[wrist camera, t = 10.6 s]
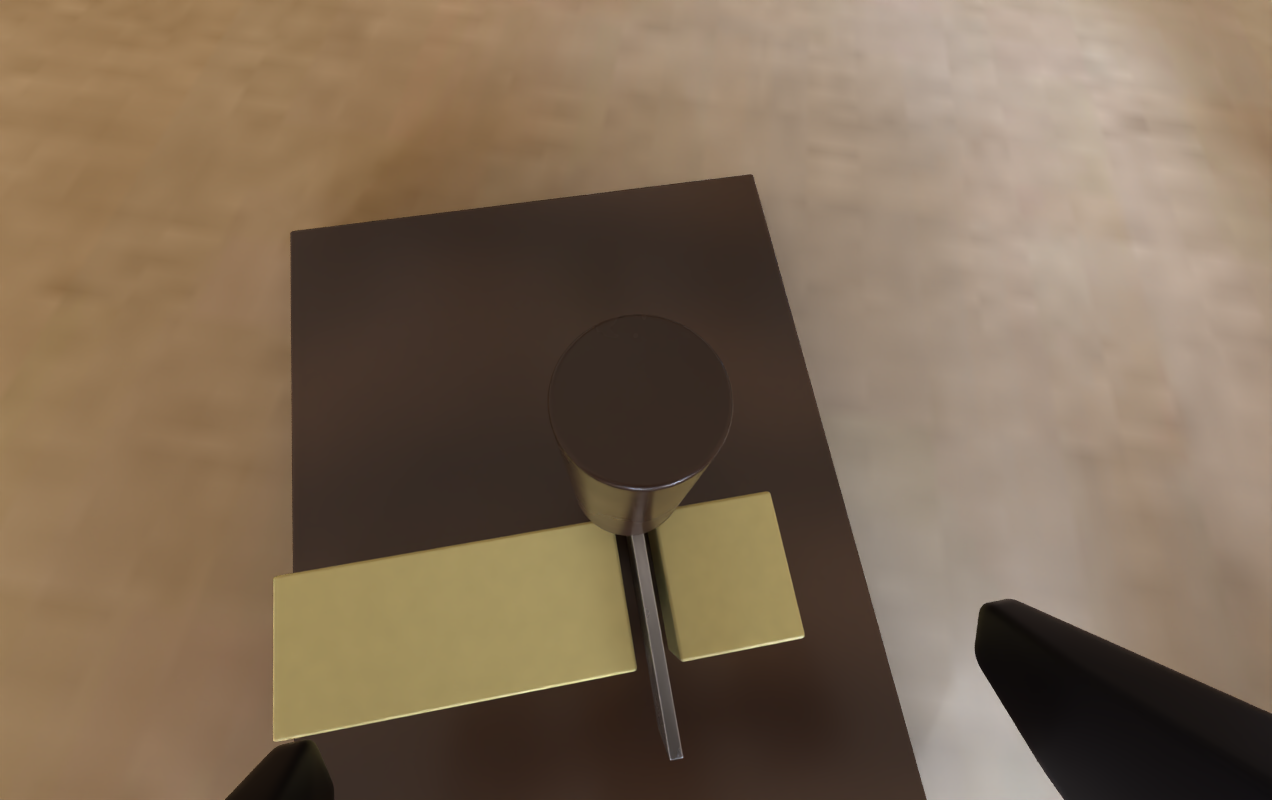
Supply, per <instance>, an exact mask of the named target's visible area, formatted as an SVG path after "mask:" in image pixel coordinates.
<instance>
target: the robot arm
mask: <svg viewBox="0 0 1272 800" xmlns="http://www.w3.org/2000/svg"><path fill="white" fill-rule="evenodd" d="M975 655H976V659H977V661H978V664H979V666H980V668H981V670H982V671H983V673H984V674H985V676H986V678H987V679H988V681H989V683H990V684H991V686H992V688H993V689H994V691H995V692H996V694H997V696H998V697H999V699H1000V701H1001V702H1002V704H1003V706H1004V707H1005V709H1006V710H1007V712H1008V714H1009V715H1010V717H1011V719H1012V720H1013V722H1014V723H1015V725H1016V727H1017V728H1018V730H1019V732H1020V733H1021V735H1022V737H1023V738H1024V740H1025V741H1026V743H1027V745H1028V746H1029V748H1030V750H1031V751H1032V753H1033V755H1034V756H1035V758H1036V759H1037V761H1038V762H1039V764H1040V765H1041V767H1042V769H1043V770H1044V772H1045V773H1046V775H1047V776H1048V778H1049V779H1050V780H1051V782H1052V783H1053V785H1054V786H1055V787H1056V789H1057V790H1058V792H1059V793H1060V795H1061V796H1062V797H1063V799H1064V800H1272V714H1271V713H1269V712H1267V711H1264V710H1262V709H1260V708H1258V707H1255V706H1253V705H1251V704H1249V703H1246V702H1244V701H1242V700H1240V699H1237V698H1235V697H1233V696H1231V695H1228V694H1226V693H1224V692H1222V691H1219V690H1217V689H1215V688H1213V687H1210V686H1208V685H1206V684H1204V683H1201V682H1199V681H1197V680H1195V679H1192V678H1190V677H1188V676H1186V675H1183V674H1181V673H1179V672H1177V671H1174V670H1172V669H1170V668H1168V667H1165V666H1163V665H1161V664H1159V663H1156V662H1154V661H1152V660H1150V659H1147V658H1145V657H1143V656H1141V655H1138V654H1136V653H1134V652H1132V651H1129V650H1127V649H1125V648H1123V647H1120V646H1118V645H1116V644H1114V643H1111V642H1109V641H1107V640H1105V639H1102V638H1100V637H1098V636H1096V635H1093V634H1091V633H1089V632H1087V631H1084V630H1082V629H1080V628H1078V627H1075V626H1073V625H1071V624H1069V623H1066V622H1064V621H1062V620H1060V619H1057V618H1055V617H1053V616H1051V615H1048V614H1046V613H1044V612H1042V611H1039V610H1037V609H1035V608H1033V607H1030V606H1028V605H1026V604H1024V603H1021V602H1019V601H1017V600H1013V599H1004V600H999V601H994V602H989V603H986V604H984V605H983V606H982V607H981V608H980V611H979V617H978V625H977V633H976V640H975ZM225 800H334V787H333V783H332V780H331V777H330V775H329V772H328V770H327V768H326V765H325V763H324V761H323V758H322V756H321V753H320V751H319V749H318V747H317V745H316V743H315V742H313V741H312V740H302V741H297V742H292V743H287V744H282V745H280V746H277V747H276V748H274V749H273V750H272V751H271V752H270V753H269V754H268V755H267V756H266V757H265V758H264V759H263V760H262V761H261V762H260V763H259V764H258V765H257V766H256V767H255V769H254V770H253V771H252V772H251V773H250V774H249V775H248V776H247V777H246V778H245V779H244V780H243V781H242V782H241V783H240V784H239V785H238V786H237V788H236V789H235V790H234V791H233V792H232V793H231V794H230V795H229V796H228V797H227V798H226V799H225Z"/></svg>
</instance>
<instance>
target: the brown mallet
mask: <svg viewBox="0 0 1272 800" xmlns="http://www.w3.org/2000/svg"><path fill="white" fill-rule="evenodd" d="M547 403H548V415H549V420H550V424H551V428H552V430H553V433H554V436H555V439H556V442H557V445H558V448H559V450H560V453H561V456H562V459H563V462H564V465H565V467H566V470H567V473H568V476H569V479H570V482H571V485H572V487H573V490H574V493H575V496H576V499H577V501H578V504H579V506H580V508H581V510H582V511H583V512H584V514H585V515H586V516H587V517H588V519H589V520H590V521H591V522H593V523H594V524H595V525H596V526H598V527H600V528H601V529H603V530H605V531H607V532H610V533H613V534H617V535H623V536H626V540H627V546H628V551H629V557H630V563H631V569H632V575H633V581H634V587H635V593H636V599H637V605H638V611H639V617H640V623H641V629H642V635H643V641H644V647H645V653H646V658H647V664H648V670H649V676H650V682H651V688H652V694H653V700H654V706H655V712H656V718H657V724H658V729H659V732H660V734H661V737H662V740H663V743H664V746H665V748H666V751H667V754H668V757H669V759H670V760H671V761H672V760H677V759H682V758H683V752H682V746H681V741H680V735H679V729H678V724H677V718H676V712H675V707H674V701H673V695H672V690H671V684H670V678H669V673H668V667H667V662H666V656H665V650H664V645H663V639H662V633H661V628H660V622H659V616H658V611H657V605H656V599H655V594H654V588H653V582H652V577H651V571H650V566H649V560H648V554H647V549H646V543H645V537H644V533H647V532H649V531H652V530H654V529H655V528H657V527H659V526H660V525H661V524H663V523H664V522H665V521H666V520H667V519H668V518H669V517H670V516H671V514H672V513H673V512H674V511H675V509H676V508H677V507H678V505H679V504H680V503H681V501H682V500H683V499H684V497H685V496H686V495H687V493H688V492H689V491H690V489H691V488H692V487H693V486H694V484H695V483H696V482H697V480H698V479H699V478H700V476H701V475H702V474H703V472H704V471H705V470H706V468H707V467H708V466H709V464H710V463H711V462H712V460H713V459H714V458H715V457H716V455H717V454H718V453H719V451H720V449H721V448H722V446H723V444H724V442H725V440H726V438H727V435H728V433H729V430H730V426H731V422H732V417H733V393H732V386H731V383H730V379H729V376H728V373H727V371H726V369H725V367H724V364H723V363H722V361H721V359H720V358H719V356H718V355H717V353H716V352H715V351H714V350H713V348H712V347H711V346H710V345H709V344H708V343H707V342H706V341H705V340H704V339H703V338H702V337H701V336H700V335H698V334H697V333H696V332H694V331H693V330H691V329H690V328H688V327H686V326H684V325H683V324H681V323H678V322H676V321H673V320H671V319H667V318H664V317H660V316H654V315H646V314H633V315H624V316H619V317H614V318H611V319H608V320H605V321H603V322H601V323H598V324H596V325H594V326H592V327H591V328H589V329H588V330H586V331H585V332H583V333H582V334H581V335H579V336H578V337H577V338H576V339H575V340H574V341H573V342H572V343H571V344H570V345H569V346H568V347H567V348H566V350H565V351H564V352H563V354H562V355H561V357H560V358H559V360H558V362H557V364H556V366H555V368H554V371H553V373H552V376H551V379H550V384H549V389H548V400H547Z"/></svg>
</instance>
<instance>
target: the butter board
mask: <svg viewBox="0 0 1272 800" xmlns="http://www.w3.org/2000/svg"><path fill="white" fill-rule="evenodd" d="M290 235H291V372H292V508H293V573H297V572H302V571H308V570H314V569H320V568H325V567H331V566H337V565H343V564H349V563H354V562H360V561H366V560H372V559H377V558H383V557H389V556H395V555H400V554H406V553H412V552H418V551H423V550H429V549H435V548H441V547H446V546H452V545H458V544H464V543H469V542H475V541H481V540H487V539H493V538H498V537H504V536H510V535H516V534H521V533H527V532H533V531H539V530H544V529H550V528H556V527H562V526H567V525H573V524H579V523H585V522H590V520H589V519H588V517H587V516H586V515H585V514H584V512H583V511H582V510H581V508H580V506H579V504H578V501H577V499H576V496H575V493H574V490H573V487H572V485H571V482H570V479H569V476H568V473H567V470H566V467H565V465H564V462H563V459H562V456H561V453H560V450H559V448H558V445H557V442H556V439H555V436H554V433H553V430H552V428H551V424H550V420H549V415H548V403H547V400H548V389H549V384H550V379H551V376H552V373H553V371H554V368H555V366H556V364H557V362H558V360H559V358H560V357H561V355H562V354H563V352H564V351H565V350H566V348H567V347H568V346H569V345H570V344H571V343H572V342H573V341H574V340H575V339H576V338H577V337H578V336H579V335H581V334H582V333H583V332H585V331H586V330H588V329H589V328H591V327H592V326H594V325H596V324H598V323H601V322H603V321H605V320H608V319H611V318H614V317H619V316H624V315H633V314H646V315H654V316H660V317H664V318H667V319H671V320H673V321H676V322H678V323H681V324H683V325H684V326H686V327H688V328H690V329H691V330H693V331H694V332H696V333H697V334H698V335H700V336H701V337H702V338H703V339H704V340H705V341H706V342H707V343H708V344H709V345H710V346H711V347H712V348H713V350H714V351H715V352H716V353H717V355H718V356H719V358H720V359H721V361H722V363H723V364H724V367H725V369H726V371H727V373H728V376H729V379H730V383H731V386H732V393H733V417H732V422H731V426H730V430H729V433H728V435H727V438H726V440H725V442H724V444H723V446H722V448H721V449H720V451H719V453H718V454H717V455H716V457H715V458H714V459H713V460H712V462H711V463H710V464H709V466H708V467H707V468H706V470H705V471H704V472H703V474H702V475H701V476H700V478H699V479H698V480H697V482H696V483H695V484H694V486H693V487H692V488H691V489H690V491H689V492H688V493H687V495H686V496H685V497H684V499H683V500H682V501H681V503H680V504H679V505H678V507H679V506H685V505H690V504H696V503H702V502H708V501H713V500H719V499H725V498H731V497H736V496H742V495H748V494H754V493H759V492H765V491H767V492H770V494H771V498H772V502H773V506H774V510H775V514H776V518H777V522H778V526H779V530H780V535H781V539H782V543H783V547H784V551H785V555H786V559H787V563H788V568H789V572H790V576H791V580H792V584H793V588H794V592H795V596H796V600H797V605H798V609H799V613H800V617H801V621H802V625H803V629H804V633H805V634H804V637H803V638H802V639H797V640H792V641H787V642H782V643H777V644H771V645H766V646H761V647H756V648H751V649H746V650H741V651H736V652H731V653H726V654H721V655H716V656H711V657H706V658H701V659H696V660H691V661H685V662H683V661H681V660H680V659H678V658H677V657H676V656H675V655H674V654H673V653H672V652H671V651H670V650H669V648H668V643H667V637H666V632H665V626H664V621H663V615H662V610H661V604H660V598H659V593H658V587H657V582H656V576H655V570H654V565H653V559H652V554H651V548H650V542H649V537H648V532H647V533H644V537H645V543H646V549H647V554H648V560H649V566H650V571H651V577H652V582H653V588H654V594H655V599H656V605H657V611H658V616H659V622H660V628H661V633H662V639H663V645H664V650H665V656H666V662H667V667H668V673H669V678H670V684H671V690H672V695H673V701H674V707H675V712H676V718H677V724H678V729H679V735H680V741H681V746H682V752H683V758H682V759H677V760H672V761H671V760H670V759H669V757H668V754H667V751H666V748H665V746H664V743H663V740H662V737H661V734H660V732H659V729H658V724H657V718H656V712H655V706H654V700H653V694H652V688H651V682H650V676H649V670H648V664H647V658H646V653H645V647H644V641H643V635H642V629H641V623H640V617H639V611H638V605H637V599H636V593H635V587H634V581H633V575H632V569H631V563H630V557H629V551H628V546H627V540H626V536H623V535H617V534H615V536H616V542H617V548H618V554H619V560H620V566H621V572H622V579H623V585H624V591H625V597H626V603H627V609H628V615H629V621H630V628H631V634H632V640H633V646H634V652H635V658H636V664H637V669H636V670H635V671H633V672H628V673H623V674H618V675H613V676H608V677H603V678H598V679H593V680H588V681H583V682H578V683H573V684H568V685H563V686H557V687H552V688H547V689H542V690H537V691H532V692H527V693H522V694H517V695H512V696H507V697H502V698H497V699H492V700H487V701H482V702H477V703H471V704H466V705H461V706H456V707H451V708H446V709H441V710H436V711H431V712H426V713H421V714H416V715H411V716H406V717H401V718H396V719H390V720H385V721H380V722H375V723H370V724H365V725H360V726H355V727H350V728H345V729H340V730H335V731H330V732H325V733H320V734H315V735H309V736H304V737H299V738H294V742H297V741H302V740H312V741H313V742H315V743H316V745H317V747H318V749H319V751H320V753H321V756H322V758H323V761H324V763H325V765H326V768H327V770H328V772H329V775H330V777H331V780H332V783H333V787H334V800H927V799H926V796H925V792H924V789H923V785H922V781H921V778H920V774H919V771H918V767H917V763H916V760H915V756H914V753H913V749H912V745H911V742H910V738H909V735H908V731H907V727H906V724H905V720H904V717H903V713H902V709H901V706H900V702H899V699H898V695H897V691H896V688H895V684H894V681H893V677H892V673H891V670H890V666H889V663H888V659H887V656H886V652H885V648H884V645H883V641H882V638H881V634H880V630H879V627H878V623H877V620H876V616H875V612H874V609H873V605H872V602H871V598H870V594H869V591H868V587H867V584H866V580H865V576H864V573H863V569H862V566H861V562H860V558H859V555H858V551H857V548H856V544H855V540H854V537H853V533H852V530H851V526H850V522H849V519H848V515H847V512H846V508H845V504H844V501H843V497H842V494H841V490H840V486H839V483H838V479H837V476H836V472H835V468H834V465H833V461H832V458H831V454H830V451H829V447H828V443H827V440H826V436H825V433H824V429H823V425H822V422H821V418H820V415H819V411H818V407H817V404H816V400H815V397H814V393H813V389H812V386H811V382H810V379H809V375H808V371H807V368H806V364H805V361H804V357H803V353H802V350H801V346H800V343H799V339H798V335H797V332H796V328H795V325H794V321H793V317H792V314H791V310H790V307H789V303H788V299H787V296H786V292H785V289H784V285H783V281H782V278H781V274H780V271H779V267H778V263H777V260H776V256H775V253H774V249H773V245H772V242H771V238H770V235H769V231H768V228H767V224H766V220H765V217H764V213H763V210H762V206H761V202H760V199H759V195H758V192H757V188H756V184H755V181H754V177H753V175H751V174H750V175H742V176H734V177H726V178H718V179H710V180H702V181H693V182H685V183H677V184H669V185H661V186H653V187H645V188H637V189H629V190H621V191H613V192H605V193H597V194H589V195H581V196H573V197H564V198H556V199H548V200H540V201H532V202H524V203H516V204H508V205H500V206H492V207H484V208H476V209H468V210H460V211H452V212H444V213H435V214H427V215H419V216H411V217H403V218H395V219H387V220H379V221H371V222H363V223H355V224H347V225H339V226H331V227H323V228H315V229H306V230H298V231H292V232H291V233H290Z"/></svg>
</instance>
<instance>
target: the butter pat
mask: <svg viewBox="0 0 1272 800" xmlns="http://www.w3.org/2000/svg"><path fill="white" fill-rule="evenodd" d="M648 537H649V542H650V548H651V554H652V559H653V565H654V570H655V576H656V582H657V587H658V593H659V598H660V604H661V610H662V615H663V621H664V626H665V632H666V637H667V643H668V648H669V650H670V651H671V652H672V653H673V654H674V655H675V656H676V657H677V658H678V659H680V660H681V661H683V662H685V661H691V660H696V659H701V658H706V657H711V656H716V655H721V654H726V653H731V652H736V651H741V650H746V649H751V648H756V647H761V646H766V645H771V644H777V643H782V642H787V641H792V640H797V639H802V638H803V637H804V634H805V633H804V629H803V625H802V621H801V617H800V613H799V609H798V605H797V600H796V596H795V592H794V588H793V584H792V580H791V576H790V572H789V568H788V563H787V559H786V555H785V551H784V547H783V543H782V539H781V535H780V530H779V526H778V522H777V518H776V514H775V510H774V506H773V502H772V498H771V494H770V492H767V491H765V492H759V493H754V494H748V495H742V496H736V497H731V498H725V499H719V500H713V501H708V502H702V503H696V504H690V505H685V506H679V507H677V508H676V509H675V511H674V512H673V513H672V514H671V516H670V517H669V518H668V519H667V520H666V521H665V522H664V523H663V524H661V525H660V526H659V527H657V528H655V529H654V530H652V531H649V532H648Z"/></svg>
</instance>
